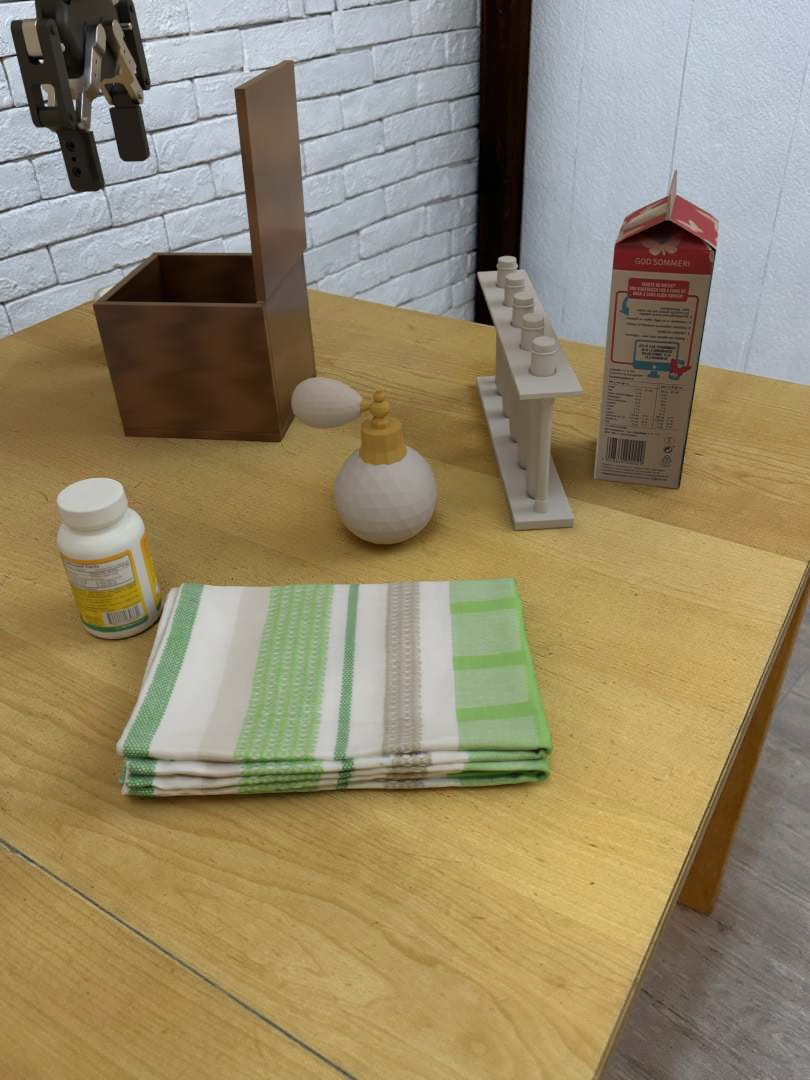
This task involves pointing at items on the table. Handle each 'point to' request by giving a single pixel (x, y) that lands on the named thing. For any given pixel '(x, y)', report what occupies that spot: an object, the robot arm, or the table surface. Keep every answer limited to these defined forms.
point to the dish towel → (337, 690)
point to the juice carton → (654, 340)
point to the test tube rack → (525, 398)
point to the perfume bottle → (371, 464)
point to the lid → (272, 174)
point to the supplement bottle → (107, 559)
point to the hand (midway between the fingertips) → (113, 174)
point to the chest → (205, 347)
